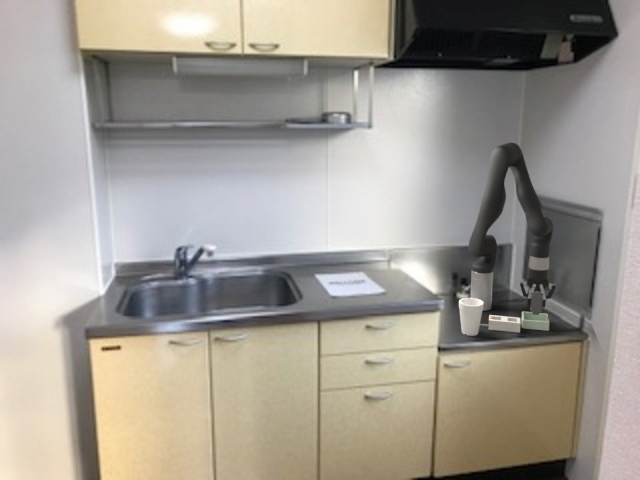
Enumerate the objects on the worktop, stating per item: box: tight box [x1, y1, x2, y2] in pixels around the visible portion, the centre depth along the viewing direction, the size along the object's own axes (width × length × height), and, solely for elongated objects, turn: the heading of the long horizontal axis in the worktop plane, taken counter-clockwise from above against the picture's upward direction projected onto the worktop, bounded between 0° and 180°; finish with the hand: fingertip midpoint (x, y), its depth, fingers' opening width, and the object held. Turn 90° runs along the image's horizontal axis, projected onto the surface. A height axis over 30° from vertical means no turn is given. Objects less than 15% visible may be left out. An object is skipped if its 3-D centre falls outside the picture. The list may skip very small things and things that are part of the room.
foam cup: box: [458, 297, 483, 337], centre depth 213 cm, size 10×9×13 cm
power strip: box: [479, 314, 522, 334], centre depth 218 cm, size 6×18×4 cm, turn 72°
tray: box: [520, 311, 550, 332], centre depth 220 cm, size 10×10×4 cm
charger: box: [529, 291, 543, 315], centre depth 217 cm, size 6×4×9 cm
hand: (535, 307), depth 218 cm, fingers closed on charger, 4 cm apart
